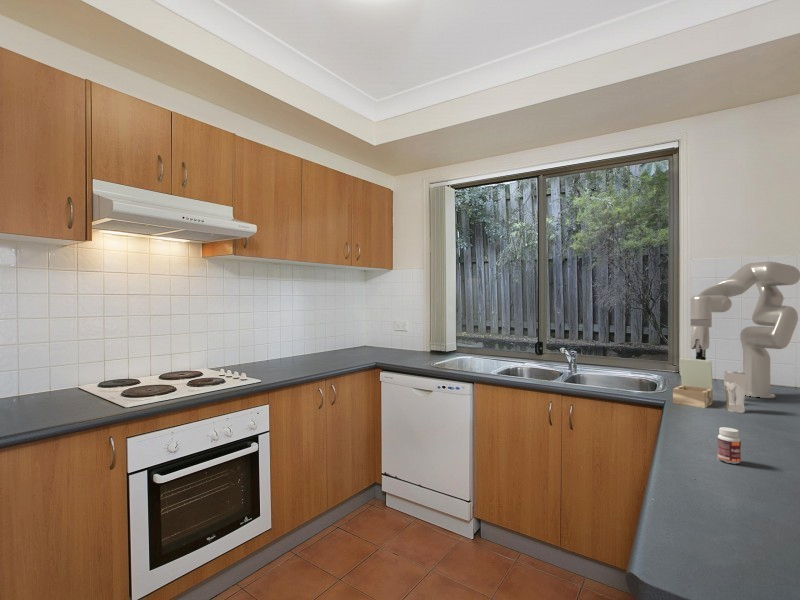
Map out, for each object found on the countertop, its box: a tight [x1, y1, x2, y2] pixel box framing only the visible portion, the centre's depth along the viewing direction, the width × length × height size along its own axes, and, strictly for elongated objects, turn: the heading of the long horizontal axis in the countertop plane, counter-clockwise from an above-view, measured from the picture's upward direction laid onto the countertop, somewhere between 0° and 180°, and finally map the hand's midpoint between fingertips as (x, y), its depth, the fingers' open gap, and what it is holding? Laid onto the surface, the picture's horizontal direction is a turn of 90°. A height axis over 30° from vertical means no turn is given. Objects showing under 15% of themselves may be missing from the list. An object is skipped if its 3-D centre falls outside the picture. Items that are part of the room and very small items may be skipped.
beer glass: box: [723, 370, 747, 414], centre depth 162 cm, size 7×7×15 cm
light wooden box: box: [672, 384, 714, 409], centre depth 175 cm, size 12×11×6 cm
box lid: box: [679, 357, 714, 389], centre depth 178 cm, size 12×11×2 cm
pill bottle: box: [717, 426, 742, 462], centre depth 109 cm, size 5×5×8 cm
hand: (700, 365), depth 183 cm, fingers closed
